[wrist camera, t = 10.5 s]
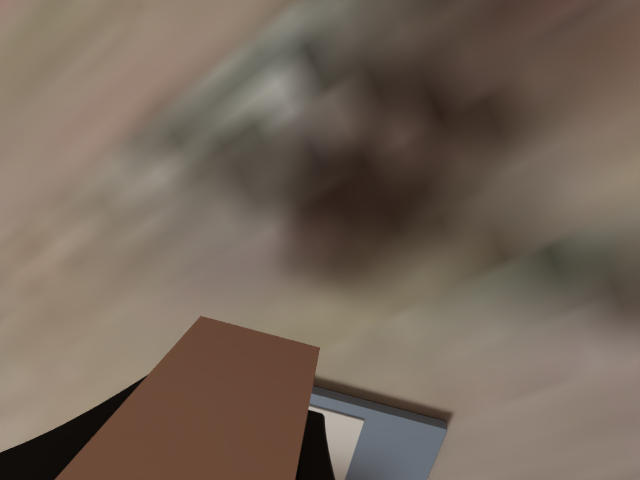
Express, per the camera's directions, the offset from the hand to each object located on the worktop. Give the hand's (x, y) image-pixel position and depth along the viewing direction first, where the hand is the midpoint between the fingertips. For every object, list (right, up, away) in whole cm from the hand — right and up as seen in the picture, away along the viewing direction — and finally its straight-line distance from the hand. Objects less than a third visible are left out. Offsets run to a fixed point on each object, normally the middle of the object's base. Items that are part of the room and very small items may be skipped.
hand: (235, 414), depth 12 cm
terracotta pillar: (0, 0, +2) cm, 2 cm away
